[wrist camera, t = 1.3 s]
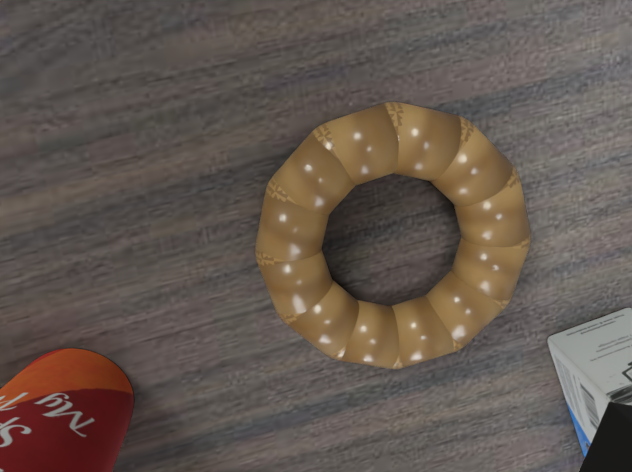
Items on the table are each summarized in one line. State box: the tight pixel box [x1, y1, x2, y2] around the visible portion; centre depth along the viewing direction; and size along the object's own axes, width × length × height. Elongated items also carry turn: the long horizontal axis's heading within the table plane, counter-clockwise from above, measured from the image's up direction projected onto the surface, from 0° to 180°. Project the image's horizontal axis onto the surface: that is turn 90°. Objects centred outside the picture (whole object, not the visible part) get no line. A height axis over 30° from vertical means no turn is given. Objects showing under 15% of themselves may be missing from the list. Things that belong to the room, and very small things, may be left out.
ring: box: [255, 102, 531, 369], centre depth 23 cm, size 12×12×3 cm
